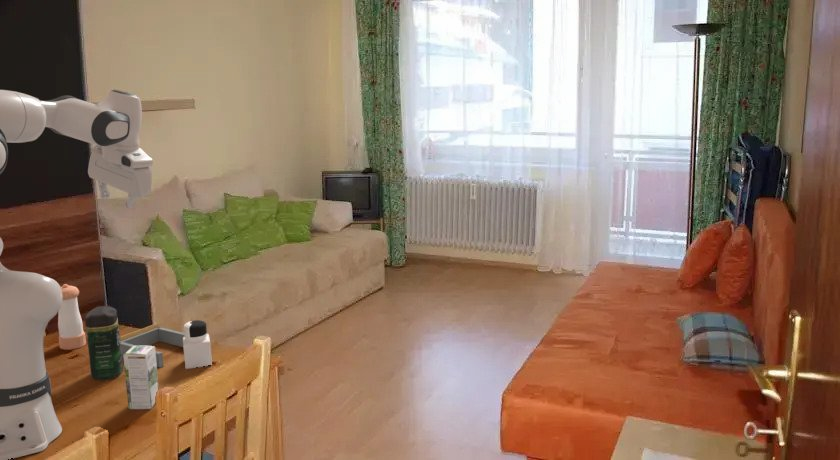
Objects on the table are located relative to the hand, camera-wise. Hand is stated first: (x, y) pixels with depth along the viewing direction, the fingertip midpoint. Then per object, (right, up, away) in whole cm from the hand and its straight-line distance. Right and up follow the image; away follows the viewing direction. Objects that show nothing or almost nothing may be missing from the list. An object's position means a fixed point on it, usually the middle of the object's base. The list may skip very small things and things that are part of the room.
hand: (116, 203), depth 197 cm
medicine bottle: (+18, -45, +12) cm, 50 cm away
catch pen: (+4, -43, +20) cm, 48 cm away
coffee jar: (-5, -47, +6) cm, 47 cm away
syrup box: (+12, -50, -14) cm, 54 cm away
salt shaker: (-25, -42, +28) cm, 56 cm away
